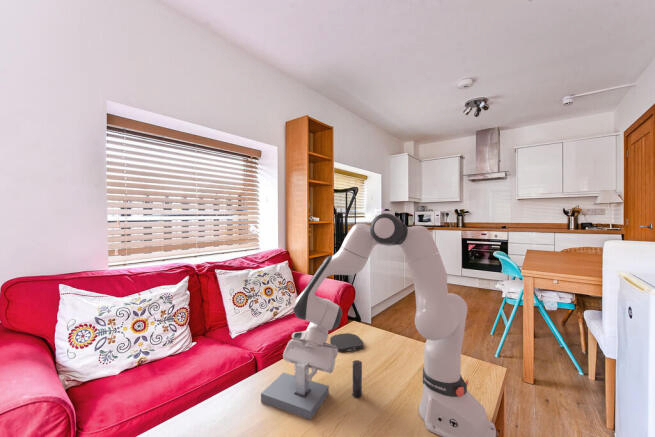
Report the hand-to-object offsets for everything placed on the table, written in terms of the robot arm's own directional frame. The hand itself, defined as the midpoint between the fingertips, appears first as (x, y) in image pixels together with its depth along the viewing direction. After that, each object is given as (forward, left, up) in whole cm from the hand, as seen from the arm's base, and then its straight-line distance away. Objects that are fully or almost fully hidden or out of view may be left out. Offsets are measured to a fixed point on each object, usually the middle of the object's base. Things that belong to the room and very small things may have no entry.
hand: (301, 379), depth 97 cm
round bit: (-12, -17, -8) cm, 22 cm away
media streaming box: (+16, -43, -8) cm, 46 cm away
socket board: (+3, 0, -8) cm, 8 cm away
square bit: (0, -1, -7) cm, 7 cm away
